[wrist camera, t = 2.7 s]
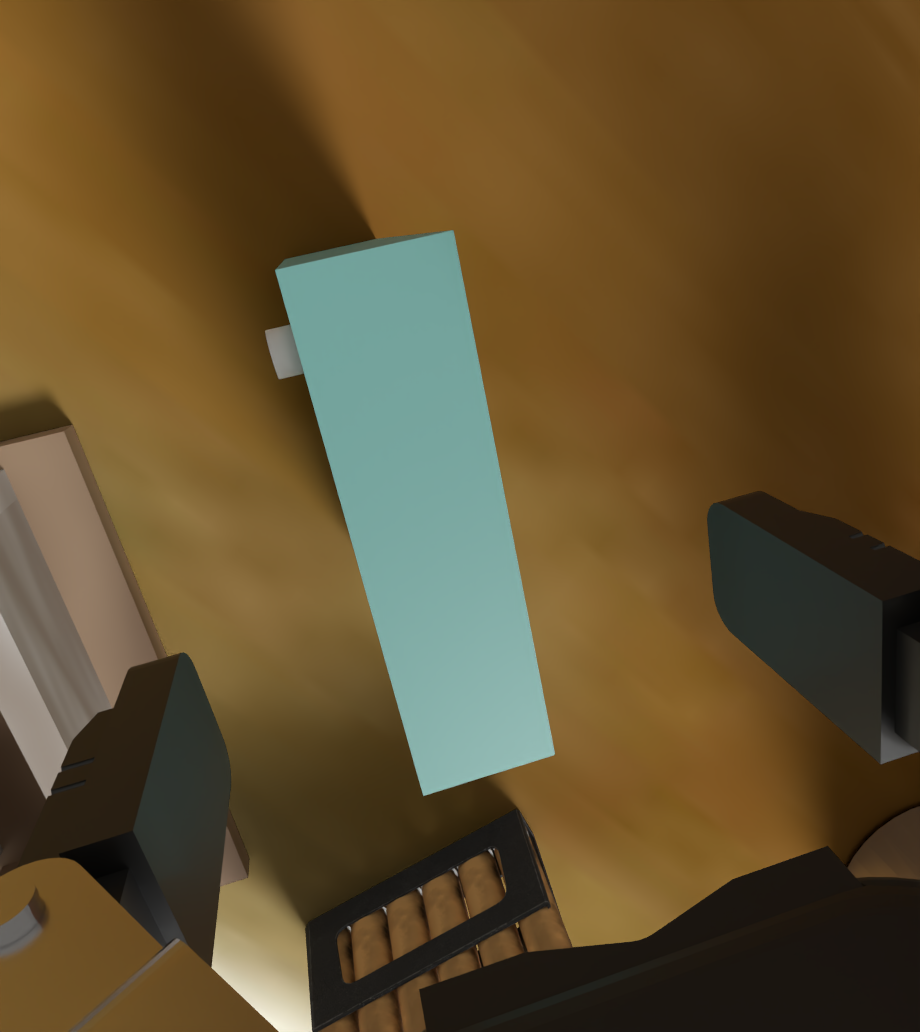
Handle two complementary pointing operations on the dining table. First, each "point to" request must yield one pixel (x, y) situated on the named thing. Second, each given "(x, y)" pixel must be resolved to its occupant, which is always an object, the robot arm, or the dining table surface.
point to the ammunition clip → (430, 929)
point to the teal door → (420, 495)
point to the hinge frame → (62, 627)
